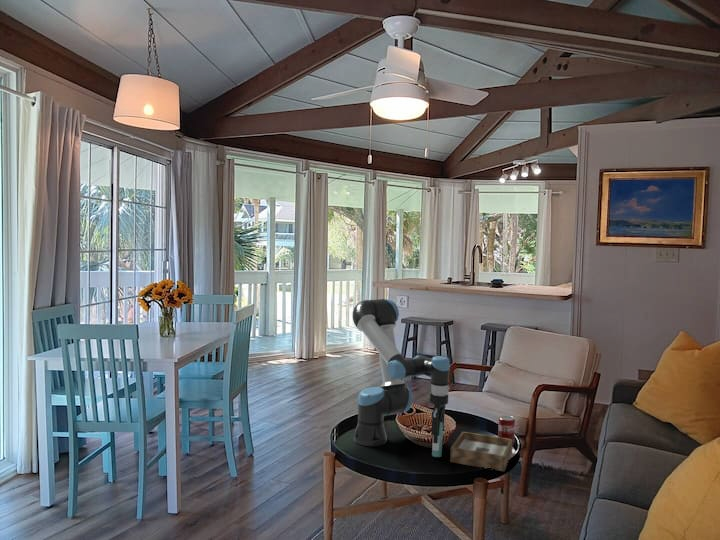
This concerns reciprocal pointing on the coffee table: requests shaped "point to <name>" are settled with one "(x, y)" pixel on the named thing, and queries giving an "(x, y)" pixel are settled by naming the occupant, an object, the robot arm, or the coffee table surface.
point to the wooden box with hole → (481, 451)
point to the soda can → (506, 427)
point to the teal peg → (439, 453)
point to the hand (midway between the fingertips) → (437, 448)
